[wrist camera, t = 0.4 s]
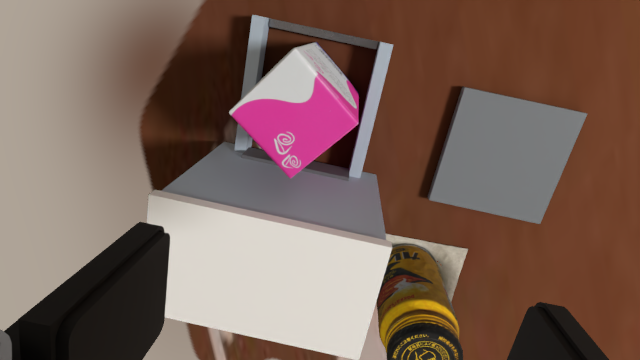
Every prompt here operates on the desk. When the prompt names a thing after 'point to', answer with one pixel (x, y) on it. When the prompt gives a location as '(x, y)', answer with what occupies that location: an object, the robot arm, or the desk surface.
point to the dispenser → (277, 236)
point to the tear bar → (323, 34)
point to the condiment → (420, 301)
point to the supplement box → (299, 108)
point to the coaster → (504, 154)
